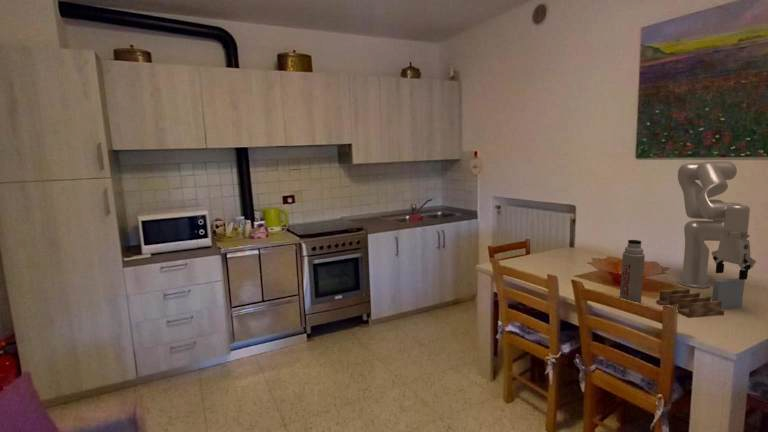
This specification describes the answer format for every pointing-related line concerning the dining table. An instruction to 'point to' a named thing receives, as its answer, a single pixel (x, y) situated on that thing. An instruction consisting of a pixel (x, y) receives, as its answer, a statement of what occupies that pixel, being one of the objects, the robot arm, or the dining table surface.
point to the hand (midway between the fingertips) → (730, 276)
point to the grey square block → (728, 292)
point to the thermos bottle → (632, 272)
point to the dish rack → (690, 303)
